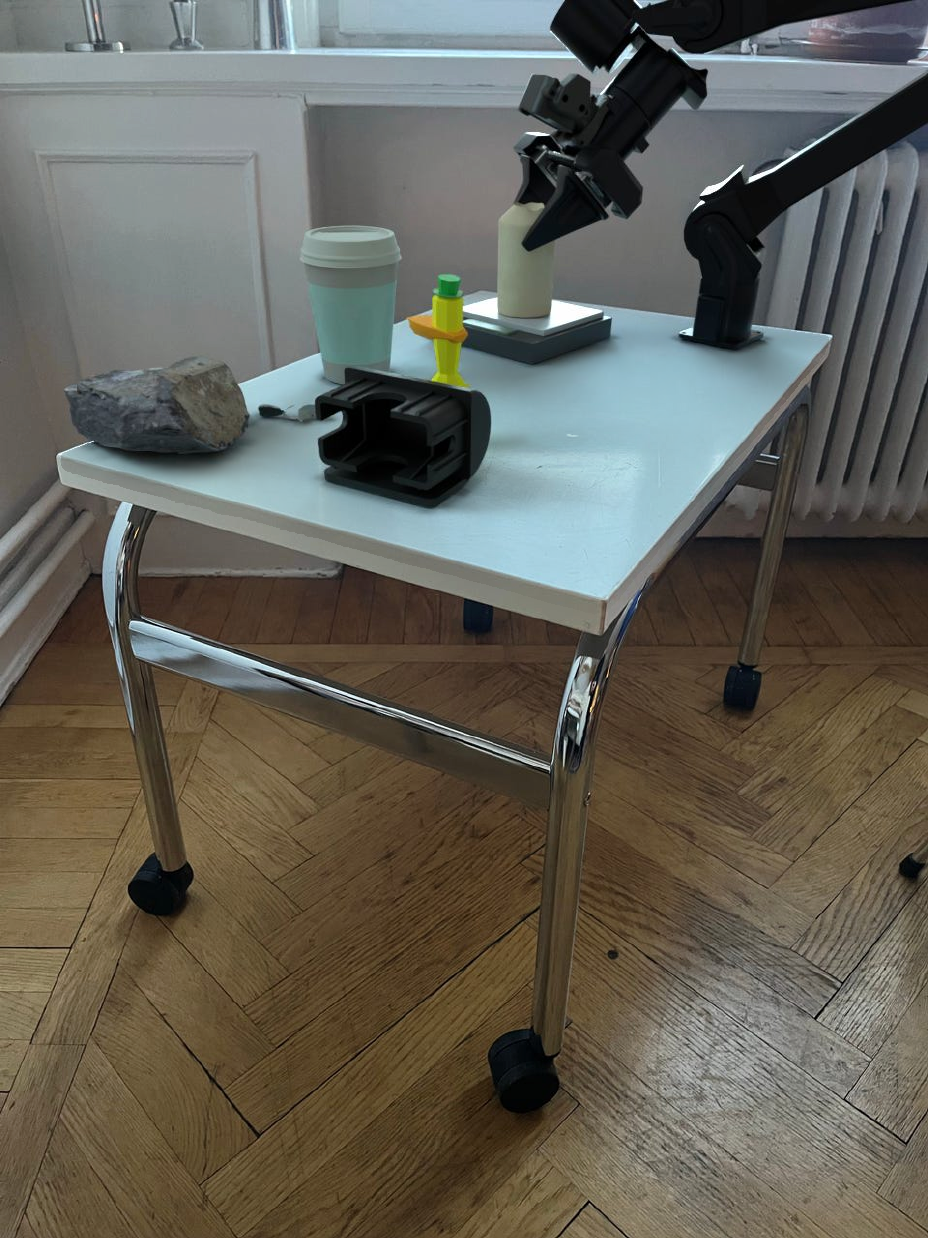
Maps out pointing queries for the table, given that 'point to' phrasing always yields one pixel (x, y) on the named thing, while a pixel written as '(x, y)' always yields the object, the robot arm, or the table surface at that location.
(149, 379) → the rock
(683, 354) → the table surface
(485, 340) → the scale
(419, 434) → the end cap
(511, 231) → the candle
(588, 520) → the table surface
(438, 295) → the toy figure
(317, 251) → the coffee cup
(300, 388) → the table surface
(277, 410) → the toy
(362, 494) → the table surface
